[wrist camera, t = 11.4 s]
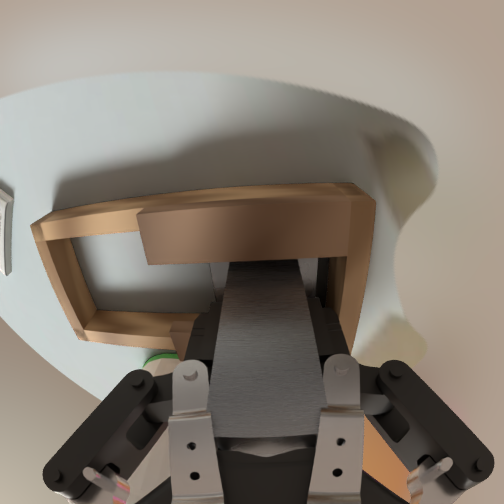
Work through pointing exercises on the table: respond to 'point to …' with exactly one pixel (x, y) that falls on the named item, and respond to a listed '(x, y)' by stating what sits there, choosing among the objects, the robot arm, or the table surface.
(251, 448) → the t peg
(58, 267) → the rail
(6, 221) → the hard drive
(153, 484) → the cup
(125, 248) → the table surface
